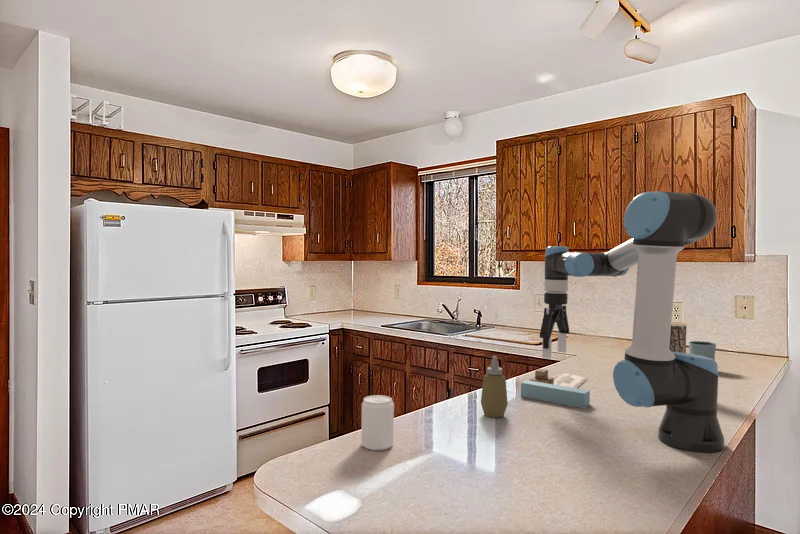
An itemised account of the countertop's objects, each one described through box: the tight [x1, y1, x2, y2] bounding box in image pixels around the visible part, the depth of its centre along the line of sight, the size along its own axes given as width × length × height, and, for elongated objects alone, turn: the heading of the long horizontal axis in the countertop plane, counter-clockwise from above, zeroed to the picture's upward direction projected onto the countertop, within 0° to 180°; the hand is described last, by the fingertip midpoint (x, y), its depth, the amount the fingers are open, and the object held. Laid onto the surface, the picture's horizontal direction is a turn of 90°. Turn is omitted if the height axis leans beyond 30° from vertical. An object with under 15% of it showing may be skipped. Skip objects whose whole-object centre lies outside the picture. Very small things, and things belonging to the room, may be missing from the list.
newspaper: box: [552, 373, 588, 389], centre depth 200 cm, size 23×12×2 cm, turn 149°
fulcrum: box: [528, 368, 554, 385], centre depth 190 cm, size 8×6×7 cm
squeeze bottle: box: [480, 355, 508, 418], centre depth 159 cm, size 8×8×18 cm
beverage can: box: [360, 394, 395, 451], centre depth 132 cm, size 8×8×12 cm
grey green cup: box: [688, 340, 717, 361], centre depth 225 cm, size 10×10×12 cm
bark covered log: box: [669, 321, 687, 353], centre depth 187 cm, size 7×7×25 cm
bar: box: [520, 379, 591, 409], centre depth 176 cm, size 5×22×5 cm, turn 52°
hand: (554, 355), depth 176 cm, fingers open, 13 cm apart
